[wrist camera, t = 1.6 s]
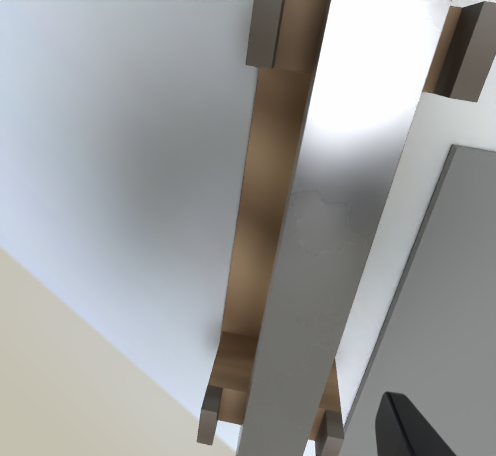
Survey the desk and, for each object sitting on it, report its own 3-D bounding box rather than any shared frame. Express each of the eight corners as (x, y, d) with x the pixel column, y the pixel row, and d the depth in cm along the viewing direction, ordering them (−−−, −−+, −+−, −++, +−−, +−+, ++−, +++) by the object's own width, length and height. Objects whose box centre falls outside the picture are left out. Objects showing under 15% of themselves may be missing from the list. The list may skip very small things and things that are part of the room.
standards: (272, -15, 16) (257, -56, 10) (441, 11, 16) (526, -16, 10) (218, 357, 25) (194, 448, 19) (324, 378, 25) (331, 478, 19)
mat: (671, 181, 17) (682, 185, 17) (455, 503, 28) (459, 512, 28) (452, 144, 18) (457, 147, 17) (325, 475, 29) (326, 482, 28)
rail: (333, -32, 11) (343, -59, 9) (425, -18, 11) (465, -42, 9) (239, 430, 21) (230, 487, 18) (289, 441, 20) (288, 500, 18)
